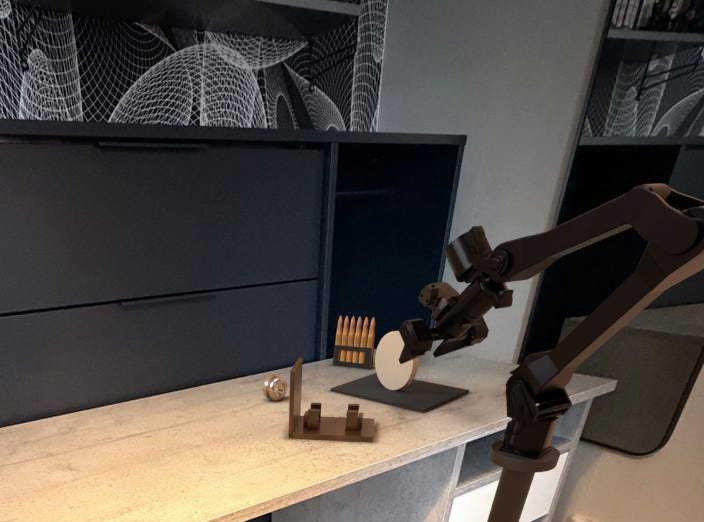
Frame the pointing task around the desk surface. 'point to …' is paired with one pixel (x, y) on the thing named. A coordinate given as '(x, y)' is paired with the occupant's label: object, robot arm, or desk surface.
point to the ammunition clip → (354, 344)
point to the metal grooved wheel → (274, 388)
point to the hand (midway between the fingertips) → (417, 358)
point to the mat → (401, 393)
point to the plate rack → (324, 426)
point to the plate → (394, 363)
